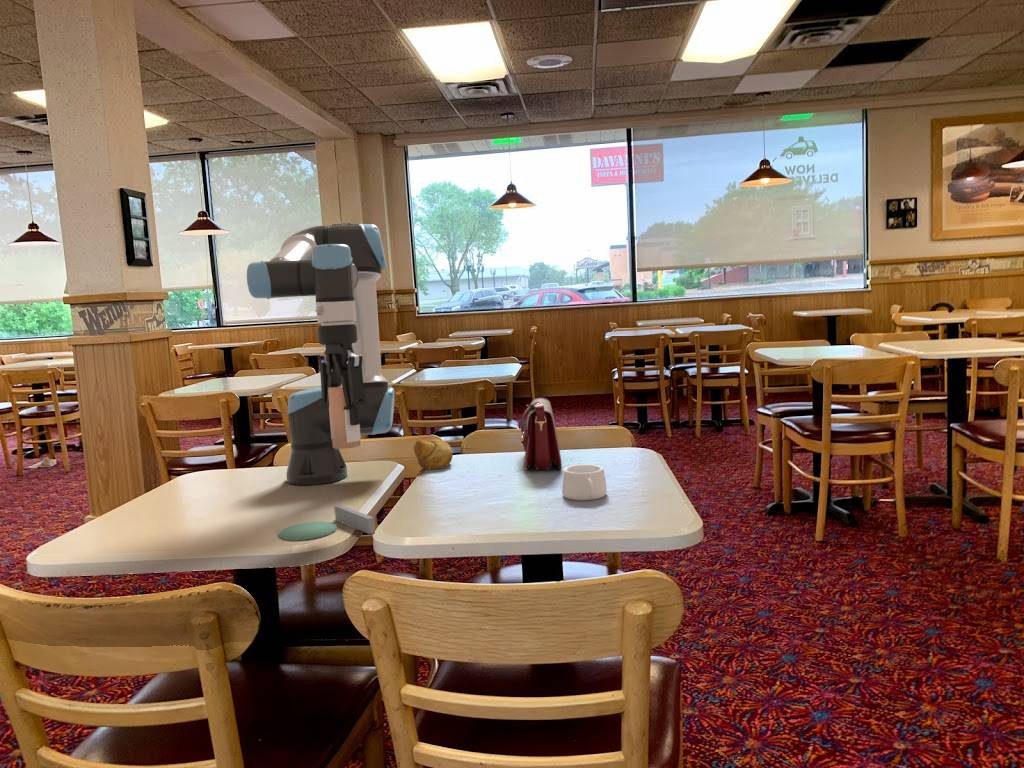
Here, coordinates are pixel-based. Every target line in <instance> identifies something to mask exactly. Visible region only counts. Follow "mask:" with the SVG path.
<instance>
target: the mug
mask: <svg viewBox="0 0 1024 768" xmlns="http://www.w3.org/2000/svg"><path fill="white" fill-rule="evenodd" d="M562 472H563V475H562V486H561V489H562V490H561V491H562V492H561V493H562V496H563V497H564V498H566V499H567V500H570V501H571V500H572V501H592V500H593V501H594V500H599V499H601V498H604V497H605V496H606V494H607V493H608V491H607V482H606V475H605V470H604V468H603V466H600V465H597V464H588V463H587V464H574V465H570V466H567V467H565V468H563V471H562Z"/></svg>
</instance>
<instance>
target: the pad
mask: <svg viewBox="0 0 1024 768" xmlns="http://www.w3.org/2000/svg"><path fill="white" fill-rule="evenodd" d="M336 529H338V526H337V524H336V523H334V522H330V521H322V520H317V521H307V522H301V523H295V524H293V525H292V524H291V525H289V526H286V527H283V528H282V529H280V531H279V532H278V537H279V539H282V540H285V541H291V540H292V541H293V540H301V541H307V540H306V539H311V540H314V539H313V538H316V539H318V538H317V537H321V538H323V537H322V536H324V537H326V536H325V535H327V534H330V533H332V532H333V533H335V532H336V531H337V530H336ZM335 530H336V531H335ZM334 531H335V532H334ZM333 533H332V534H333ZM330 535H331V534H330ZM327 536H328V535H327ZM293 542H294V541H293Z"/></svg>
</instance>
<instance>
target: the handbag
mask: <svg viewBox="0 0 1024 768" xmlns="http://www.w3.org/2000/svg"><path fill="white" fill-rule="evenodd" d="M526 415H527V417H526V418H527V420H526V421H525V416H526ZM554 416H555V415H554V411H553V407H552V404H551V401H550V400H549V399H548V398H546V397H536V398H533V399H532V400H531V402H530V403H529V406H528V407H526V409H525V410H524V412H523V415H522V417H521V419H520V423H519V427H520V431H521V438H520V441H521V442H520V445H521V447H523V451H524V452H525V454H524V462H523V463H524V465H523V466H524V469H525V471H528V469H529V468H530V467H531V465H532V463H533V464H534V467H535V469H536V470H537V471H545V470H550V469H551V467H552V463H553V464H555V465H556V466H557V467H558V468H559V469H560V470H561V469H562V457H561V456H562V455H561V448H560V444H559V443H560V442H559V437H558V432H557V427H556V421H555V417H554Z"/></svg>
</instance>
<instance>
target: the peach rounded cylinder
mask: <svg viewBox="0 0 1024 768" xmlns="http://www.w3.org/2000/svg"><path fill="white" fill-rule="evenodd" d="M328 395H329V408H330V420H331V433H332V445H333V448H336V449H339V450H340V449H341V450H345V449H353V448H357V447H360V446H361V440H360V441H354V442H347V438H346V425H345V412H344V408H343V407H346V402H345V397H344V392H343V388H342V384H341V386H333V387H328Z"/></svg>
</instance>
